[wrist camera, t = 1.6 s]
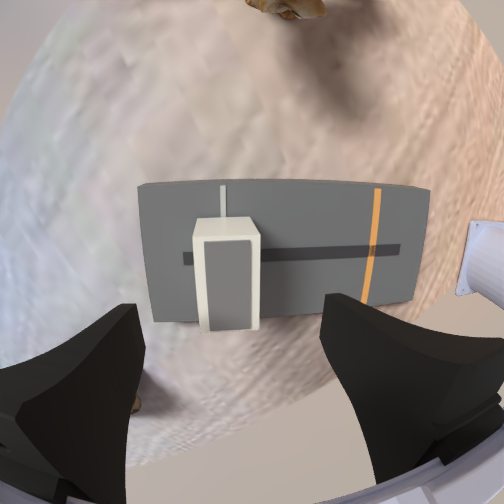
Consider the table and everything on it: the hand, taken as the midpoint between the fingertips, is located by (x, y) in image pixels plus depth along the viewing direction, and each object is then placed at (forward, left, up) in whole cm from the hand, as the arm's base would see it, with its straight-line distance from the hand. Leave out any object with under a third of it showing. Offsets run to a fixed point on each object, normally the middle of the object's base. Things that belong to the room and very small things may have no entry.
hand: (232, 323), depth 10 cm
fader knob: (0, 0, -7) cm, 7 cm away
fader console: (-5, 0, -9) cm, 11 cm away
